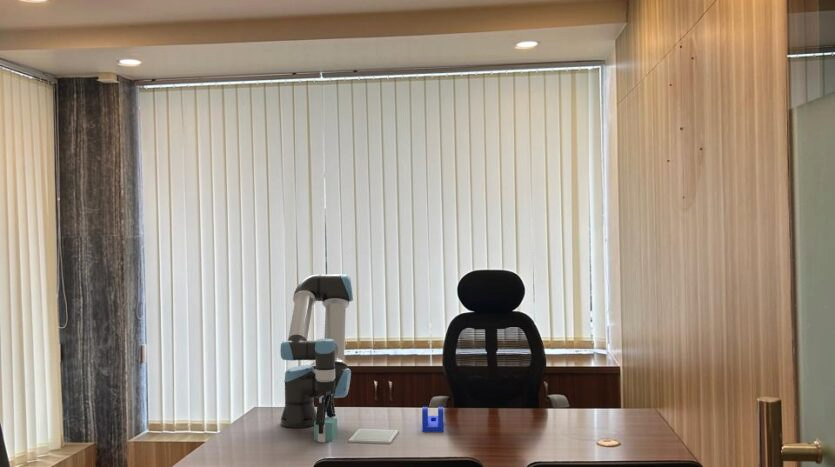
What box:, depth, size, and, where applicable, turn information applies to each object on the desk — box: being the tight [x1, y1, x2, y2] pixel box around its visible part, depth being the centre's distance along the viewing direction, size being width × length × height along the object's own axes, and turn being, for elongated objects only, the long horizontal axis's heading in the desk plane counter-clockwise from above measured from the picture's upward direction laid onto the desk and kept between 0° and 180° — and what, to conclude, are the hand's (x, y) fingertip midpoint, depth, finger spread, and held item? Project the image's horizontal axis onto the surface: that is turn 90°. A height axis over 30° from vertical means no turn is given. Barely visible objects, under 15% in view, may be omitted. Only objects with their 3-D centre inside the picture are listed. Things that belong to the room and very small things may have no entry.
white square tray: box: [348, 428, 399, 445], centre depth 295 cm, size 16×16×1 cm
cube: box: [313, 417, 338, 442], centre depth 294 cm, size 7×7×7 cm
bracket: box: [421, 406, 445, 433], centre depth 311 cm, size 18×8×9 cm, turn 178°
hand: (325, 437), depth 294 cm, fingers open, 10 cm apart
